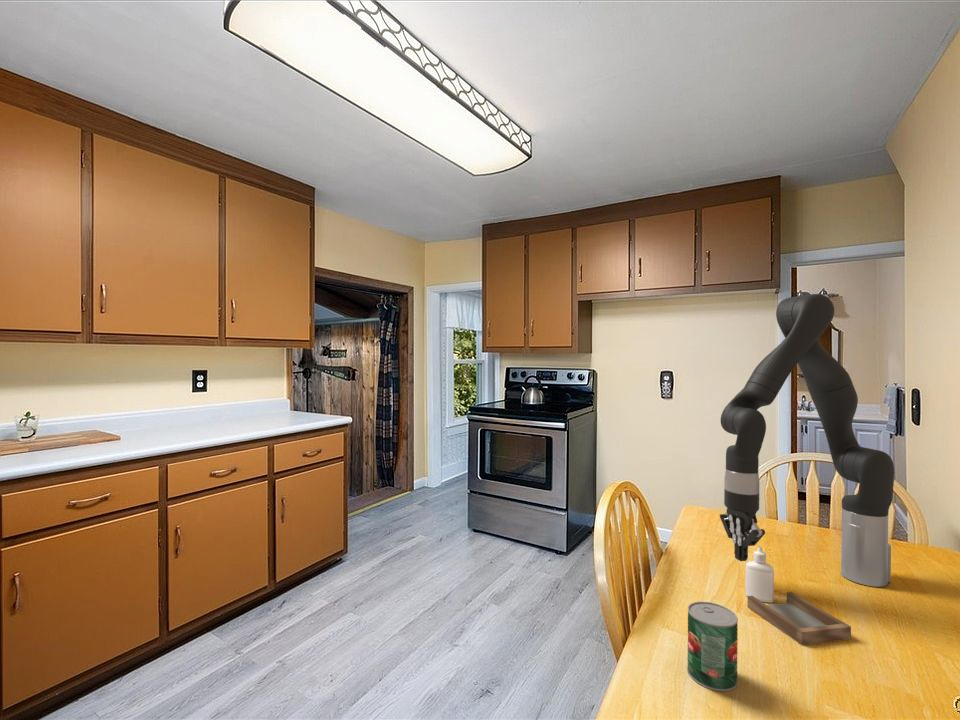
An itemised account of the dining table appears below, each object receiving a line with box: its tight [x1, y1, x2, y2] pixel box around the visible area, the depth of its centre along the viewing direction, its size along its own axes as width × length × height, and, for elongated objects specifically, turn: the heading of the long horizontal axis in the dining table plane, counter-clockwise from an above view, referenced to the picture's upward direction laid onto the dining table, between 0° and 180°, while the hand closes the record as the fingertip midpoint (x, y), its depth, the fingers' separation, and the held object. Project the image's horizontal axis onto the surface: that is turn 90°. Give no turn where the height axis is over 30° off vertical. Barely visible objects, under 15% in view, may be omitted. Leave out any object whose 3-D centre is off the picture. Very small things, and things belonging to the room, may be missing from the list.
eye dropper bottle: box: [745, 545, 775, 604], centre depth 110 cm, size 4×6×12 cm
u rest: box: [747, 591, 852, 646], centre depth 100 cm, size 11×14×2 cm
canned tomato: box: [686, 601, 739, 692], centre depth 83 cm, size 8×8×11 cm
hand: (740, 559), depth 116 cm, fingers closed
